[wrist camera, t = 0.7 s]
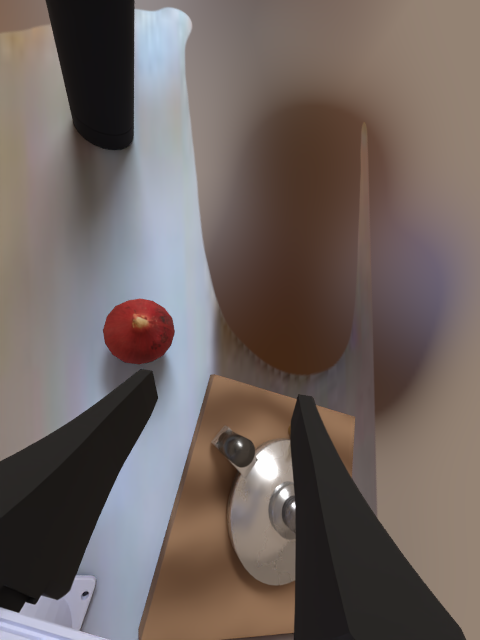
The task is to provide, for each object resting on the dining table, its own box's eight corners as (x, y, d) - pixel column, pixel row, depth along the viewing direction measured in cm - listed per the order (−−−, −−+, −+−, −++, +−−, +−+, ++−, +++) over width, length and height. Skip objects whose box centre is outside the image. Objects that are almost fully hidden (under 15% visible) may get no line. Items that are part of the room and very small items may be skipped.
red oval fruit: (163, 308, 26) (174, 280, 19) (173, 358, 25) (189, 349, 18) (103, 315, 23) (91, 287, 16) (112, 372, 22) (104, 368, 15)
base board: (332, 615, 26) (373, 663, 21) (138, 628, 19) (140, 703, 14) (346, 415, 33) (378, 420, 29) (210, 374, 26) (226, 373, 22)
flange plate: (340, 486, 28) (375, 504, 24) (284, 605, 22) (318, 655, 18) (254, 388, 26) (276, 389, 22) (170, 489, 20) (179, 515, 16)
